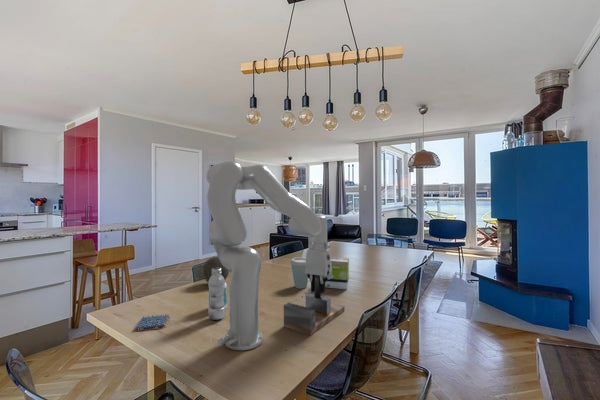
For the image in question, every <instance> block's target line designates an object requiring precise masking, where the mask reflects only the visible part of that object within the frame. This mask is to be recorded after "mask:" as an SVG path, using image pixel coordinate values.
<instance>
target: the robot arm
mask: <svg viewBox="0 0 600 400" xmlns="http://www.w3.org/2000/svg"><path fill="white" fill-rule="evenodd" d="M205 178H206V181H207V184H209V187H208V190H207V195H206V197H207V205H208V208H209V211H210V215H211V217H212V220H211V222H210V224H209V226H208V234H209V238H210V241H211V243H212V246H213V248H214V250H215V252H216V255H217V257H218V258H219V260H220V262H221V263H222V265H223V266H224V267H225V268H227V269H228V270H229V272H231V278H230V281H229V282H230V283H229V329H228V330H227V331H226V333H227V334H225V336H223V337H222V338H219V339H218V340H217V344H218V346H219V347H222V346H223V345H225V346H226V347H227V348H229V349H231V350H234V351H247V350H253V349H254V348H258V347H259V346H260V345H262V343H263V342H264V334H263V333H262V332H261V331H260V327H259V326H260V323H259V322H260V320H259V318H260V316H259V315H260V314H259V312H260V311H259V309H260V305H259V303H260V302H259V301H260V300H259V298H260V296H259V292H260V291H259V286H260V285H259V283H260V275H261V274H260V273H261V267H262V258H261V256H260V253H258V251H257V250H255V249H254V248H252V247H250V246H247V245H245V244H244V245H243V243H244V242H245V241H246V239H247V232H248V231H247V228H246V225H245V223H244V220H243V217H242V214H241V213H240V210H239V207H238V204H237V199H236V193H237V190H239V191H240V190H253V191H255V192H256V193H257V194H258V195H259V197H261V199H263V201H264V202H265V203H266V204H267V205H268V206H269V207H270V208H271V209H272V210H274V211H276V212H278V213H280V214H283V215H285V216H288V217H289V218H291V219H289V221H288V225H287V226H288V229H289V231H290V232H291V233H293V234H294V235H296V236H297V235H298V236H302V237H303V236H304V237H308V248H307V250H306V255H305V258H306V263H305V270H304V274H305V275H307V277H308V280H309V282H310V289H311V290H310V291H311V293H313V292H314V275H318V276H320V284H319V293H320V294H322V295H323V294H324V293H325V291H326V287H325V282H326V281H327V280H329V279H331V278H333V275H332V273H331V272H332V266H331V257H332V256H331V252H330V247H331V245H330V244H329V243H328V218H327V217H326V216H325V215H317V214H316V213H315V211H314V210H313V209H312V208H311V207H310V206H309V205H308V204H306V203H305V202H303V201H302V200H300V199H299V198H298V197H296V196H295V195H293V194H291V193H290V192H289V191H288V189H286V188H285V186H284V185H283V184H282V183H281V182H280V181H279V179H278V177H276V176H275V174H273V172H272V171H271V170H270V169H269V168H268V167H267V166H266V165H263V164H254V165H248V166H241V164H240V163H238V162H236V161H233V160H227V161H223V162H220V163H216V164H213V165H211V166H210V167H209V168H208V170H207V172H206V177H205ZM327 274H328V276H327V277H326V275H327Z"/></svg>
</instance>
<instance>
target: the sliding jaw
mask: <svg viewBox="0 0 600 400" xmlns="http://www.w3.org/2000/svg"><path fill="white" fill-rule="evenodd" d="M319 284H320V276H318V275H314V293H309V294H306V295H305V307H307V308H311V309H315V312H317V313H321V314H325V315H328V314H329V313H331V303H332V300H331V297H326V296H322V295H323V293H322V294H320V293H319Z"/></svg>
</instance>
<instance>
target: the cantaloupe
mask: <svg viewBox="0 0 600 400" xmlns="http://www.w3.org/2000/svg"><path fill="white" fill-rule="evenodd" d="M216 267H219V268H221V271H222V273H221V275H222V276H223V277H224V279H225V281H226V280H227V278H228V276H229V273H230V270H228V269H227V268H225V267H224V266H223V265H222V263H221V262H220V260H219V258H218V256H216V257H213V256H212V257H211V258H208V259H207V260H206V262H204V265H203V268H202V274H203V275H202V276H203V278H204V280H205V281H206V282H207V283H208V282H209V279H210V277H211V276H212V268H216Z"/></svg>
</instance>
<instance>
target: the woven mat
mask: <svg viewBox="0 0 600 400" xmlns="http://www.w3.org/2000/svg"><path fill="white" fill-rule="evenodd" d="M170 318H171V316H169V314H167V313H166V314H160V315H158V314H156V315H151V316H149V315H147V316H143V317H142V318H140V320H139V321H138V323H137V325H135V329H136V330H135V331H136V332H141V331H142V332H143V330H144V331H151V329H153V330H159V329H160V330H161V328H162V329H166V327H167V325H168V322H169V320H170ZM138 328H139V330H141V331H139V330H138ZM148 329H149V330H148ZM137 330H138V331H137Z"/></svg>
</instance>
